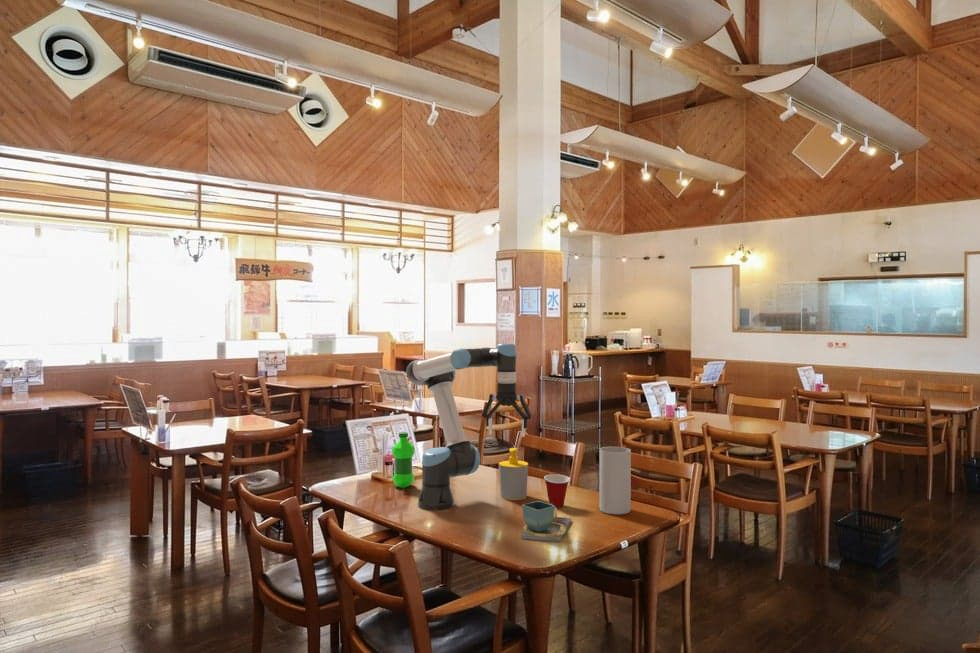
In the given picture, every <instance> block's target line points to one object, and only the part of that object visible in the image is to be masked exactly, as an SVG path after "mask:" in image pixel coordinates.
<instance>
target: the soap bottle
mask: <svg viewBox="0 0 980 653" xmlns="http://www.w3.org/2000/svg"><path fill="white" fill-rule="evenodd" d="M508 450H509V453H510V456H509V457H508V460H504V461H500V462H498V471H499V472H498V474H499V493H500V498H501V499H502V500H508V501H521V500H524V499H526V498H527V496H528V495H527V491H528V475H529V473H528V472H529V463H528V462H527V461H523V460H519V456H517V451H518V450H519V449H518V448H517V447H510V448H509V449H508Z"/></svg>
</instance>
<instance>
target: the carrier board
mask: <svg viewBox="0 0 980 653" xmlns="http://www.w3.org/2000/svg"><path fill="white" fill-rule="evenodd" d="M547 504H551V505H553V504H552V503H549V502H548V503H547ZM571 522H572V518H571V517H562V516H561V517H560V516H558V508H556V507H555V508H554V515H553V520H552V523H551V525H550V526H549V528H548V529H547V530H544V531H541V532H536V531H533V530H531V529H529V528H528V527H527V525H526V523H525V524H524V526H523V527H522V530H523V531H522V533H521V534H520V539H521V540H528V541H529V540H530V541H531V540H532V541H538V542H539V541H541V542H550V543H561V541H562V539H563V538H564V535H565V533H566V532H567V530H568V528H569V526H570V524H571Z"/></svg>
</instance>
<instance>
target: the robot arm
mask: <svg viewBox="0 0 980 653" xmlns="http://www.w3.org/2000/svg"><path fill="white" fill-rule="evenodd" d="M483 367H494V368H495V367H497V368H496V369H497V370H496V371H497V372H496V373H497V378H496V380H497V384H496V385H497V386H496V387H497V390H496V392H497V393H496V394H494V393H491V394H489V398H488V401H487V403H486V405H485V408H484V410H483V411H482V413H481V417H482V418H484V419H485V420H486V421H485V425H486V427H487V428H488V436H491V435H493V418H492V415H494V413H496V411H497V410H498V409H499V407H500V406H503V407H506V406H507V407H512V408H514V409H515V411H516V412H517V413H518V415H519V416H520V417H521V418H522V420H521V438H524V437H525V436H526V429H528V420H530V419H532V418H533V415H532V413H531V410H530V408H529V406H528V405H527V403H526V401H525V395H524V394H519V395H517V383H516V382H517V347H516V345H515V344H514V343H498V344H497V347H480V348H477V347H476V348H458V349H457V348H456V349H454V350H453V351H452V352H450V353H446V354H442V355H438V356H435V357H432V358H425V359H422V358H420V359H415V360H412V361H410V363H409V364H408V365H407V366H406V371H405V372H406V373H405V374H406V378H407V379H408V380H409V382H410V383H412V384H413V385H417V386H427V389H428V392H430V393H431V394H432V395H433V399H434V402H435V403H434V404H435V406H436V410H437V413H438V416H439V421H440V424H441V428H442V431H443V432H442V433H443V434H444V439H445V443H446V445H445V446H440V447H433V448H428V449H427V450H425V451H424V452H423V453H422V460H421V464H422V465H421V466H422V467H421V470H422V473H421V475H422V476H421V477H422V480H421V482H422V483H421V485H422V486H421V490H420V493H419V496H418V499H417V503H418V504H417V506H418V507H419V508H420V509H424V510H429V511H430V510H431V511H433V510H434V511H440V510H441V511H442V510H446V509H451V508H453V507H454V506H455V498H454V495H453V492H452V488H451V478H455V477H461V476H468V475H470V474H473V473H475V472H477V471H478V469H479V467H480V464H481V455H480V451H479V449H478V448H477V447H476V446H474V445H472V443H471V440H469V439H468V438H466V435H465V432H464V428H463V425H462V421H461V418H460V415H459V410H458V408H457V404H456V400H455V397H454V393H453V390H452V387H453V385H454V380H455V379H456V371H458V370H459V371H460V370H463V369H467V368H468V369H469V368H483ZM495 399H496V400H497V402H496V403H495V405H494V406H493V407H492V408H491V405H492V403H493V401H494V400H495ZM517 399H518V401H519V402H520V404H521V406H522V408H523V409H522V408H521V407H520V406H519V405H518V402H517ZM490 408H491V410H490V411H489V409H490Z"/></svg>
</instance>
